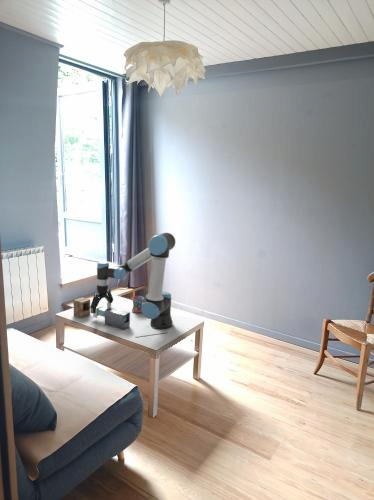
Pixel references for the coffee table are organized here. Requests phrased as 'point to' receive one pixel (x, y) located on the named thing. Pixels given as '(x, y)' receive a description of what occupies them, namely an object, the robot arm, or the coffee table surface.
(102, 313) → the teal square bar
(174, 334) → the coffee table surface
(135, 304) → the mug
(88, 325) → the coffee table surface
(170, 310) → the robot arm
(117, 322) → the sleeve
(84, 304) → the socket
